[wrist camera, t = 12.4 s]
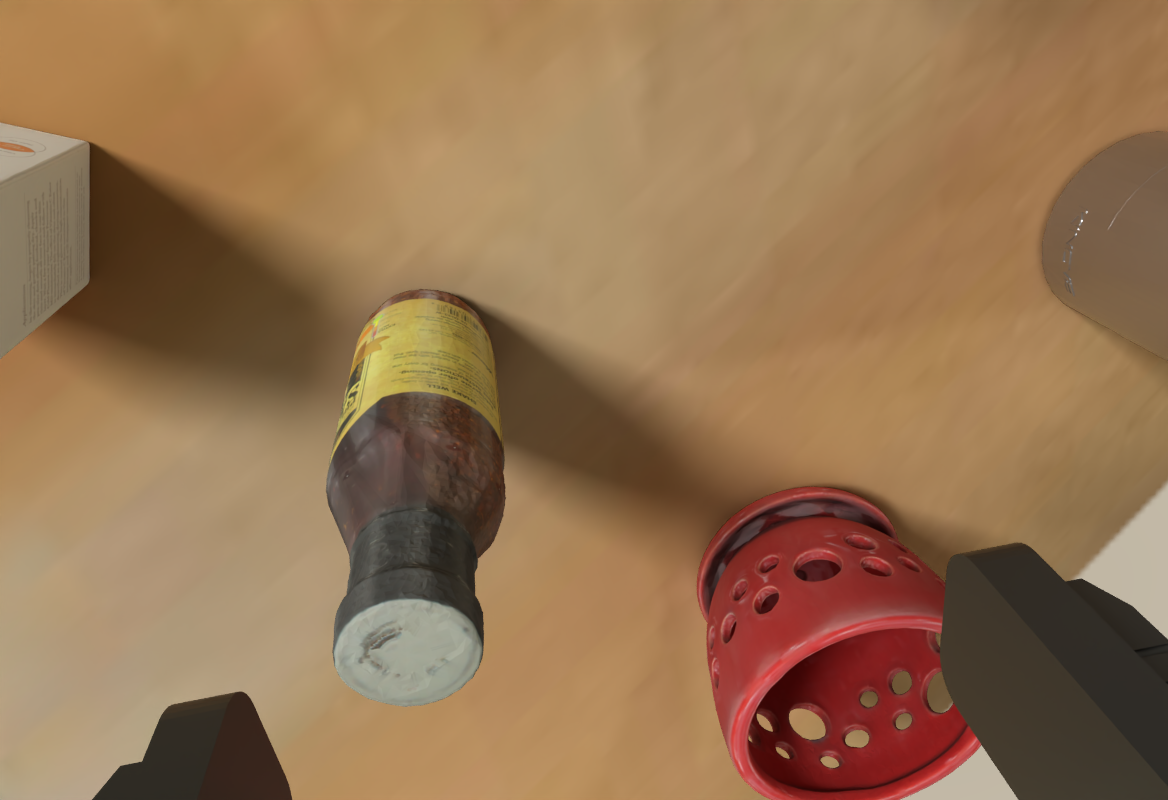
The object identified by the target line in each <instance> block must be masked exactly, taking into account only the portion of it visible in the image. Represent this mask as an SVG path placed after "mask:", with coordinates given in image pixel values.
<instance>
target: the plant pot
mask: <svg viewBox="0 0 1168 800" xmlns="http://www.w3.org/2000/svg"><path fill="white" fill-rule="evenodd" d="M945 585H946V583H945V582H944V581H943V580H942V579H941V578H940V577H939V576H937V575H936V574H935V573H934V572H933V571H932V570H931V569H930V568H929V567H928V566H927V565H926V564H925V563H924V562H923V561H922V560H921V559H919V558H918V556H916V555H915V554H914V553H913V552H911V551H910V550H909V549H908V548H906V547H905V546H904V545H902V544H901V543H899V541H898V538H897V534H896V532H895V530H894V528H893V526H892V524H891V522H890V521H889V519H888V518H887V516H886V515H885V514H884V513H883V512H882V511H881V510H880V509H879V508H877V507H876V506H875V505H873V504H872V503H870V502H869V501H867V500H865V499H864V498H862V497H859V496H857V495H855V494H852V493H849V492H846V491H843V490H838V489H833V488H826V487H802V488H794V489H789V490H784V491H781V492H777V493H774V494H771V495H769V496H766V497H763V498H761V499H759V500H757V501H755V502H753V503H752V504H750V505H748V506H747V507H745V508H743V509H742V510H741V511H739V512H738V513H736V514H735V515H734V516H733V517H731V518H730V519H729V520H728V521H727V522H726V523H725V524H724V525H723V526H722V527H721V529H720V530H719V531H718V532H717V534H716V535H715V536H714V538H713V539H712V541H711V542H710V544H709V546H708V547H707V549H706V551H705V553H704V556H703V558H702V561H701V564H700V567H699V572H698V577H697V596H698V602H699V606H700V609H701V611H702V614H703V616H704V618H705V620H706V622H707V623H708V624H707V658H708V666H709V671H710V677H711V683H712V689H713V696H714V701H715V706H716V711H717V715H718V718H719V722H720V726H721V729H722V732H723V736H724V739H725V742H726V745H727V748H728V751H729V754H730V757H731V760H732V762H733V764H734V766H735V768H736V770H737V771H738V773H739V774H740V776H741V777H742V778H743V780H744V781H745V782H746V783H747V784H748V785H749V786H750V787H752V788H753V789H754V790H755V791H757V792H758V793H760V794H761V795H763V796H764V797H767V798H769V799H771V800H900V799H902V798H905V797H907V796H909V795H912V794H914V793H916V792H918V791H920V790H922V789H924V788H927V787H929V786H930V785H932V784H934V783H936V782H937V781H939V780H941V779H942V778H944V777H945V776H947V775H949V774H950V773H951V772H953V771H954V770H955V769H956V768H958V767H959V766H960V765H962V764H963V763H964V762H965V761H966V760H967V759H968V758H970V757H971V756H972V755H973V754H974V753H975V752H976V751H977V750H978V748H979V747H980V746H981V743H980V742H979V740H978V739H977V737H976V736H975V734H974V733H973V731H972V730H971V728H970V727H969V726H968V724H967V723H966V721H965V720H964V718H963V717H962V715H961V714H960V712H959V711H958V709H957V707H956V706H955V704H954V702H953V705H952V706H951V708H950V709H949V710H948V711H946V712H944V713H937V712H934V711H933V710H932V709H931V707H930V706H929V703H928V700H927V690H928V686H929V683H930V681H931V679H932V678H933V676H934V675H935V674H936V673H938V672H940V671H942V669H941V663H940V647H939V645H938V643H937V641H936V633H940V634H941V632H942V620H943V608H944V597H945ZM901 671H907V672H908V673H909V674H910V676H911V679H912V686H911V688H910V689H909V691H907V692H906V693H904V694H900V695H898V694H896V693H895V692H894V690H893V688H892V681H893V678H894V676H895V675H896V674H897V673H899V672H901ZM867 691H873V692H875V693H876V694H877V696H878V702H877V704H876V705H875V706H873V707H870V708H867V707H865V706H863V705H862V704H861V702H860V698H861V696H862V694H863V693H865V692H867ZM796 708H802V709H807V710H810V711H812V712H814V713H815V714H817V715H818V716H819V717H820V718H821V719H822V721H823V723H824V725H825V729H826V733H825V736H824V737H822V738H820V739H817V740H809V739H805V738H802V737H801V736H800V735H799V734H797V733H796V732H795V731H794V730H793V728H792V727H791V725H790V722H789V713H790V711H791V710H793V709H796ZM757 713H758V714H761V715H763V716H764V717H765V718H766V719H768V721H769V722H770V724H771V726H772V729H773V732H771V731H768V730H766V729H764V728H763V727H762V726H761V725H760V724H759V722H758V720H757V716H756V715H757ZM903 713H908V714H910V715H911V716H912V723H911V725H910V726H909V727H908V728H906V729H904V730H900V729H898V728H897V727H896V719H897V717H898V716H899V715H901V714H903ZM854 730H863V731H865V732H867V733H868V735H869V742H868V744H867V745H866V746H864V747H862V748H858V747H850V746H847V744H846V743H845V738H846V736H847V734H848V733H850V732H851V731H854ZM748 736H750V738H751V740H752V742H750V741H749V740H748ZM776 747H779V748H781V749H783V750H785V751H786V752H787V754H788V755H789V757H790V759H787V758H784V757H782V756H781V755H780V754H779V753H778V752H777V751H776ZM824 756H830V757H833V758H835V759H836V760H837V761H838V763H839V766H838V767H836V768H829V767H826V766H825V765H823V764H822V762H821V761H820V760H821V758H822V757H824Z"/></svg>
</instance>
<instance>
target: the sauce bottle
mask: <svg viewBox="0 0 1168 800" xmlns="http://www.w3.org/2000/svg"><path fill="white" fill-rule="evenodd" d="M504 462H505V458H504V446H503V436H502V427H501V417H500V407H499V397H498V387H497V378H496V369H495V359H494V353H493V350H492V345H491V341H490V336H489V333H488V331H487V329H486V327H485V325H484V323H483V321H482V320H481V318H480V317H479V316H478V315H477V313H476V312H475V311H474V310H472V309H471V308H470V307H469V306H468V305H466V304H465V303H464V302H463V301H462V300H460V299H459V298H457V297H456V296H453V295H451V294H449V293H444V292H441V291H438V290H427V289H425V290H423V289H419V290H414V291H406V292H403V293H400V294H398V295H395V296H393V297H392V298H391V299H388V300H387V301H386V302H384V303H383V304H382V306H380V307H379V309H378V310H377V311H376V312H374V313H373V314H372V315H371V316H370V318H369V320H368V322H367V324H366V326H365V327H364V329H363V331H362V333H361V335H360V337H359V339H358V342H357V346H356V351H355V355H354V359H353V364H352V368H351V372H350V376H349V381H348V385H347V388H346V391H345V398H344V402H343V405H342V410H341V415H340V418H339V422H338V426H337V432H336V438H335V441H334V444H333V449H332V454H331V457H330V461H329V469H328V474H327V482H326V493H327V499H328V505H329V507H330V510H331V512H332V514H333V517H334V519H335V521H336V524H337V526H338V528H339V531H340V533H341V535H342V538H343V540H344V543H345V545H346V547H347V550H348V553H349V556H350V568H351V570H350V575H349V580H348V588H347V595H346V596H345V597H344V599H343V600H342V602H341V604H340V606H339V608H338V610H337V613H336V618H335V625H334V644H333V658H334V666H335V668H336V669H337V672H338V674H339V676H340V677H341V679H342V680H343V681H344V682H345V683H346V685H348V686H349V687H350V688H352V689H353V690H355V691H356V692H358V693H360V694H361V695H363V696H365V697H366V698H368V699H371V700H375V701H378V702H382V703H386V704H390V705H397V706H404V707H407V706H417V705H425V704H428V703H432V702H436V701H439V700H441V699H444V698H446V697H448V696H450V695H451V694H453V693H454V692H456V691H458V690H460V689H461V688H462V687H463V686H464V685H465V684H466V682H468V681H469V680H470V679H472V678H473V677H474V675H475V672H476V671H477V669H478V668H479V665H480V662H481V660H482V656H483V645H484V630H483V625H484V622H483V612H482V609H481V606H480V603H479V601H478V599H477V598H476V596H475V571H476V569H477V563H478V558H479V557H480V556H481V555H482V554H483V553H484V552H485V551H486V550H487V549H488V548H489V547H490V546H491V544H492V543H493V541H494V539H495V536H496V534H497V531H498V529H499V526H500V523H501V520H502V518H503V511H504V506H505V499H506V497H505V484H504V474H503V470H504Z"/></svg>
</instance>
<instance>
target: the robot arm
mask: <svg viewBox="0 0 1168 800" xmlns="http://www.w3.org/2000/svg"><path fill="white" fill-rule="evenodd" d="M1042 264H1043V269H1044V273H1045V278H1046V280H1047V282H1048V284H1049V286H1050V288H1051V290H1052V292H1053V293H1054V294H1055V295H1056V296H1057V297H1058V298H1059V299H1060V300H1061V301H1062V302H1063V303H1064V304H1066V305H1067V306H1069V307H1071V308H1073V309H1074V310H1076V311H1078V312H1080V313H1082V314H1083V315H1085V316H1087V317H1089V318H1091V319H1092V320H1094V321H1096V322H1098V323H1100V324H1101V325H1103V326H1105V327H1107V328H1109V329H1110V330H1112V331H1114V332H1116V333H1118V334H1119V335H1121V336H1122V337H1124V338H1126V339H1128V340H1130V341H1132V342H1133V343H1135V344H1137V345H1139V346H1141V347H1143V348H1144V349H1146V350H1148V351H1150V352H1152V353H1154V354H1155V355H1157V356H1159V357H1161V358H1163V359H1165V360H1166V361H1168V132H1162V131H1156V132H1150V133H1144V134H1138V135H1136V136H1133V137H1130V138H1128V139H1125V140H1122V141H1120V142H1118V143H1116V144H1114V145H1113V146H1111V147H1109V148H1108V149H1106V150H1104V151H1102V152H1101V153H1099V154H1098V155H1097V156H1096V157H1095V158H1093V159H1092V160H1091V161H1090V162H1089V163H1087V164H1086V165H1085V166H1084V167H1083V168H1082V169H1081V170H1080V171H1079V172H1078V173H1077V174H1076V175H1075V177H1074V178H1073V179H1072V180H1071V181H1070V182H1069V183H1068V185H1067V186H1066V188H1065V189H1064V191H1063V192H1062V194H1061V195H1060V197H1059V199H1058V200H1057V202H1056V203H1055V205H1054V208H1053V210H1052V213H1051V215H1050V217H1049V220H1048V222H1047V225H1046V229H1045V234H1044V238H1043V242H1042ZM940 663H941V669H942V673H943V677H944V680H945V684H946V686H947V689H948V692H949V694H950V696H951V698H952V700H953V702H954V704H955V706H956V707H957V709H958V711H959V712H960V714H961V715H962V717H963V718H964V720H965V721H966V723H967V724H968V726H969V727H970V728H971V730H972V731H973V733H974V734H975V736H976V737H977V739H978V740H979V742H980V743H981V745H982V746H983V748H984V749H985V751H986V752H987V754H988V755H989V757H990V758H991V760H992V761H993V763H994V764H995V766H996V767H997V768H998V770H999V771H1000V773H1001V774H1002V776H1003V777H1004V778H1005V780H1006V782H1007V783H1008V785H1009V786H1010V788H1011V789H1012V791H1013V792H1014V794H1015V795H1016V797H1017V798H1018V799H1019V800H1168V639H1167V638H1166V637H1165V636H1163V635H1162V634H1161V633H1160V632H1159V631H1158V630H1157V629H1156V628H1155V627H1154V626H1153V625H1152V624H1151V623H1150V622H1149V621H1147V620H1146V619H1145V618H1144V617H1143V616H1142V615H1141V614H1140V613H1139V612H1138V611H1137V610H1136V609H1135V608H1134V607H1133V606H1131V605H1129V604H1128V603H1125V602H1123V601H1122V600H1120V599H1118V598H1116V597H1115V596H1113V595H1111V594H1109V593H1107V592H1105V591H1104V590H1101V589H1100V588H1098V587H1096V586H1094V585H1092V584H1091V583H1089V582H1087V581H1085V580H1083V579H1077V580H1072V581H1067V582H1065V581H1064V580H1063V579H1062V578H1061V577H1060V576H1059V575H1058V574H1057V573H1056V572H1055V571H1054V570H1053V569H1052V568H1051V567H1050V566H1049V565H1048V564H1047V563H1046V562H1045V561H1044V560H1043V559H1042V558H1041V557H1040V556H1039V555H1038V554H1037V553H1036V552H1035V551H1034V550H1033V549H1032V548H1030V547H1029V546H1027V545H1025V544H1023V543H1013V544H1007V545H1002V546H997V547H992V548H987V549H982V550H977V551H972V552H966V553H961V554H957V555H954V556H953V557H951V559H950V560H949V563H948V566H947V574H946V585H945V597H944V608H943V620H942V632H941V643H940ZM92 800H292V797H291V791H290V787H289V784H288V781H287V779H286V776H285V774H284V772H283V770H282V767H281V765H280V763H279V761H278V758H277V756H276V754H275V752H274V749H273V747H272V745H271V743H270V740H269V738H268V736H267V734H266V731H265V729H264V727H263V725H262V722H261V720H260V718H259V716H258V714H257V711H256V709H255V707H254V705H253V703H252V701H251V699H250V698H249V696H248V695H247V694H246V693H244V692H235V693H230V694H224V695H219V696H214V697H209V698H204V699H199V700H194V701H188V702H183V703H178V704H173V705H171V706H169V707H168V708H167V709H166V710H165V711H164V712H163V714H162V715H161V717H160V720H159V722H158V724H157V727H156V729H155V731H154V734H153V736H152V739H151V741H150V744H149V746H148V749H147V751H146V753H145V756H144V758H143V761H142V762H138V763H133V764H128V765H123V766H120V767H119V768H118V769H117V771H116V772H115V773H114V774H113V775H112V777H111V778H110V779H109V780H108V781H107V783H106V784H105V785H104V786H103V787H102V788H101V790H100V791H99V792H98V793H97V794H96V796H95V797H94V798H93V799H92Z"/></svg>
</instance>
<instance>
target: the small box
mask: <svg viewBox="0 0 1168 800" xmlns="http://www.w3.org/2000/svg"><path fill="white" fill-rule="evenodd" d="M89 165H90V145H89V143H88V142H86V141H83V140H78V139H73V138H69V137H64V136H59V135H55V134H50V133H46V132H41V131H36V130H32V129H27V128H22V127H18V126H13V125H9V124H4V123H0V359H1V358H2V357H3V356H4V355H6V354H7V353H8V352H9V351H10V350H11V349H13V348H14V347H15V346H16V345H17V344H18V343H20V342H21V341H22V340H23V339H24V338H26V337H27V336H28V335H29V334H30V333H31V332H33V331H34V330H35V329H36V328H37V327H39V326H40V325H41V324H42V323H43V322H45V321H46V320H47V319H48V318H49V317H50V316H52V315H53V314H54V313H55V312H56V311H57V310H58V309H60V308H61V307H62V306H63V305H64V304H65V303H67V302H68V301H69V300H70V299H71V298H73V297H74V296H75V295H76V294H77V293H78V292H80V291H81V290H82V289H83V288H84V287H85V286H86V285H87V284H88V283H89V279H90V260H89V247H90V232H89V211H90V166H89Z"/></svg>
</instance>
